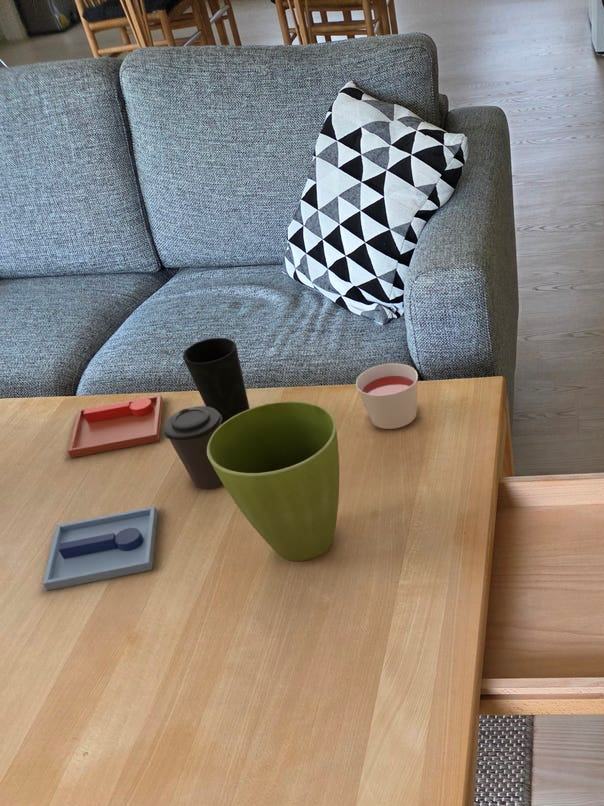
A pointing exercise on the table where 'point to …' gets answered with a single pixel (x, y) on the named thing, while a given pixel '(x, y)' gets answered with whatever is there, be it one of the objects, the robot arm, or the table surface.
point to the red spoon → (119, 410)
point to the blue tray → (105, 561)
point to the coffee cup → (195, 442)
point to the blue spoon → (102, 543)
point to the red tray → (115, 431)
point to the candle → (389, 394)
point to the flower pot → (282, 474)
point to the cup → (218, 375)
